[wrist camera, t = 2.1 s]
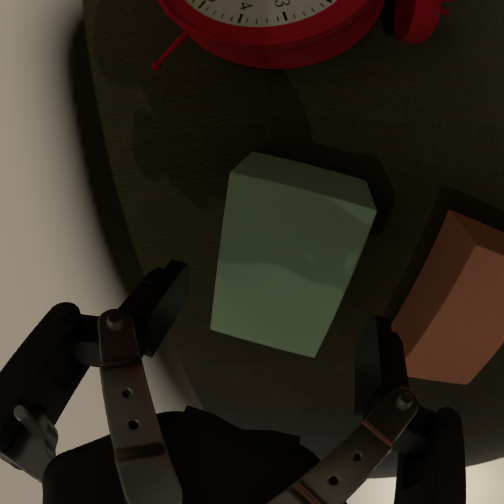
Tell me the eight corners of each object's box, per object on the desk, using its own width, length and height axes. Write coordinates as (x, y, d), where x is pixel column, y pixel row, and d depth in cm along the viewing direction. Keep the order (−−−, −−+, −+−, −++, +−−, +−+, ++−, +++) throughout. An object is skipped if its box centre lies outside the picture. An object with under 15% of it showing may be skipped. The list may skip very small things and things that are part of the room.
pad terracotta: (448, 208, 14) (475, 244, 11) (519, 239, 14) (548, 275, 10) (388, 328, 19) (393, 374, 16) (455, 342, 18) (467, 385, 15)
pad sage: (252, 150, 15) (229, 172, 12) (366, 180, 15) (377, 210, 11) (230, 287, 20) (209, 329, 17) (319, 311, 20) (314, 358, 16)
